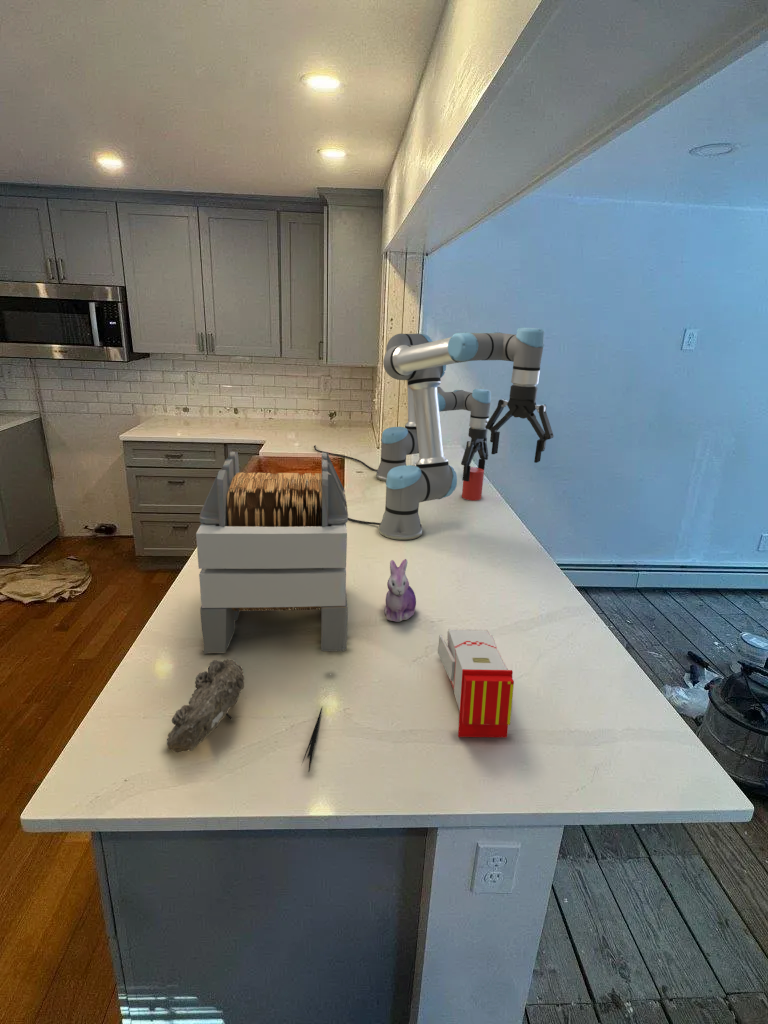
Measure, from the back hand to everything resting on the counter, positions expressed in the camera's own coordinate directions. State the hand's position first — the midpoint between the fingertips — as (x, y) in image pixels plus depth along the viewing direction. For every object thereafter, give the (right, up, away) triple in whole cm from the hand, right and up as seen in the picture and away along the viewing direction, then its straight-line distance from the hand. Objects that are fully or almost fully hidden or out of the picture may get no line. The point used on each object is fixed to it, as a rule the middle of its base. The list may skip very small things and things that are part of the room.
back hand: (473, 477), depth 240 cm
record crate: (-64, -41, -96) cm, 123 cm away
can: (0, -8, +3) cm, 9 cm away
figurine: (-34, -41, -92) cm, 107 cm away
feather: (-50, -54, -131) cm, 150 cm away
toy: (-20, -52, -121) cm, 133 cm away
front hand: (+1, +2, -71) cm, 71 cm away
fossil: (-71, -54, -132) cm, 159 cm away
